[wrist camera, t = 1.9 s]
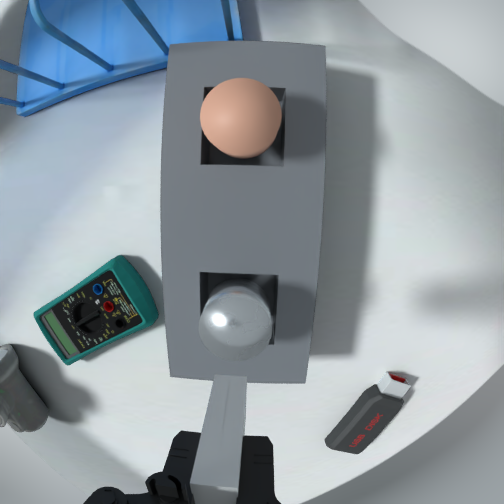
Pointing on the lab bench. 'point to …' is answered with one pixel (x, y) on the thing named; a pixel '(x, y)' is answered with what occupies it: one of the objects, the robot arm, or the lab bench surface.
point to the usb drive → (369, 415)
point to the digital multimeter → (97, 311)
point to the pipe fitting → (18, 396)
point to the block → (243, 205)
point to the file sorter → (107, 43)
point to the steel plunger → (236, 320)
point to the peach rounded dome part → (241, 117)
